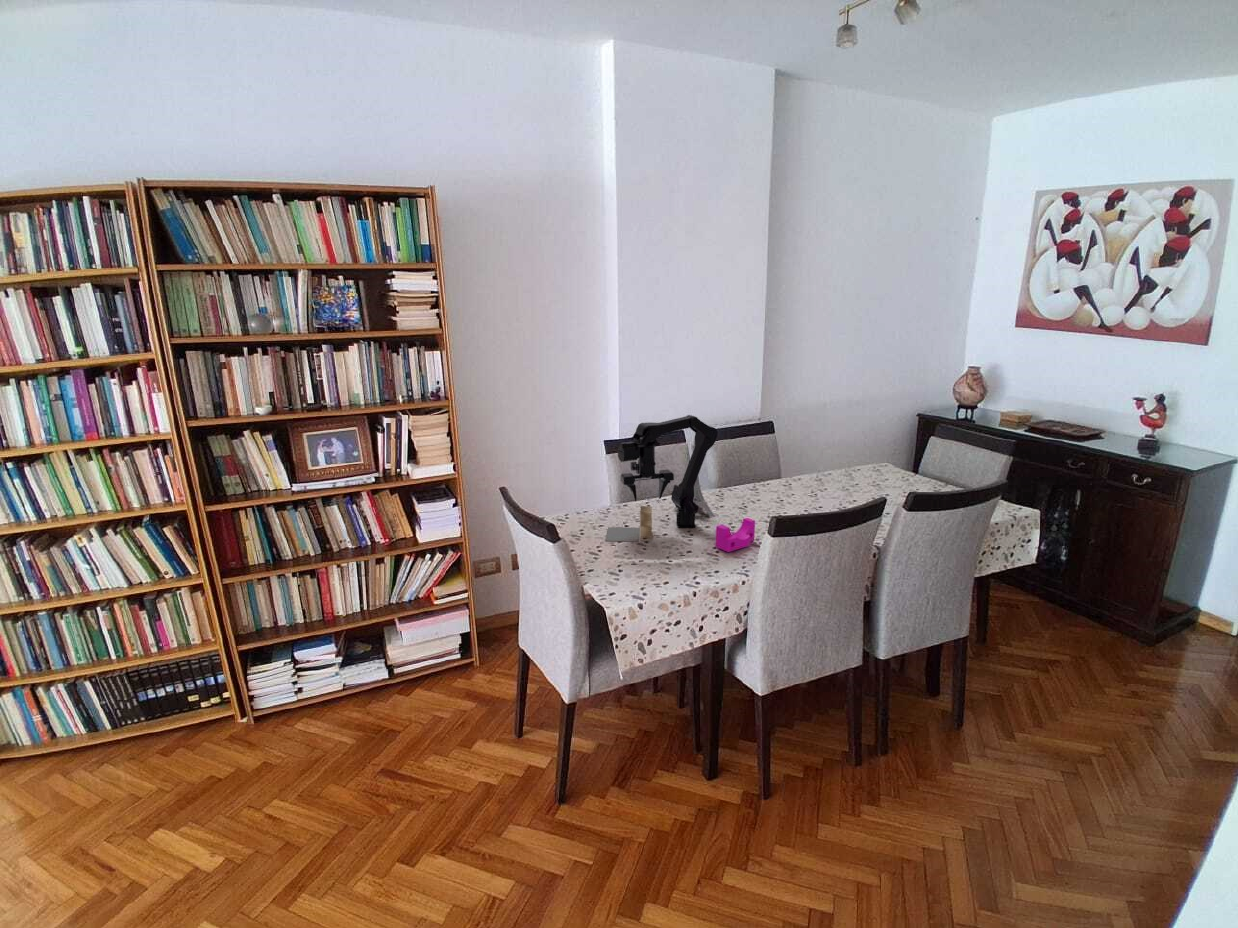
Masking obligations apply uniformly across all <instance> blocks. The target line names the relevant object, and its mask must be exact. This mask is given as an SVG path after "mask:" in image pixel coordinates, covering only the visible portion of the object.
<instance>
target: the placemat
mask: <svg viewBox="0 0 1238 928" xmlns="http://www.w3.org/2000/svg"><path fill="white" fill-rule="evenodd" d="M639 541H640V527H628V526H627V527H624V526H623V527H622V526H621V527H620V526H619V527H618V526H617V527H614V526H609V527H607V530H606V534H605V538H604V542H619V543H620V542H621V543H622V542H628V543H630V542H632V543H633V542H634V543H635V542H636V543H637V542H639Z"/></svg>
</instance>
